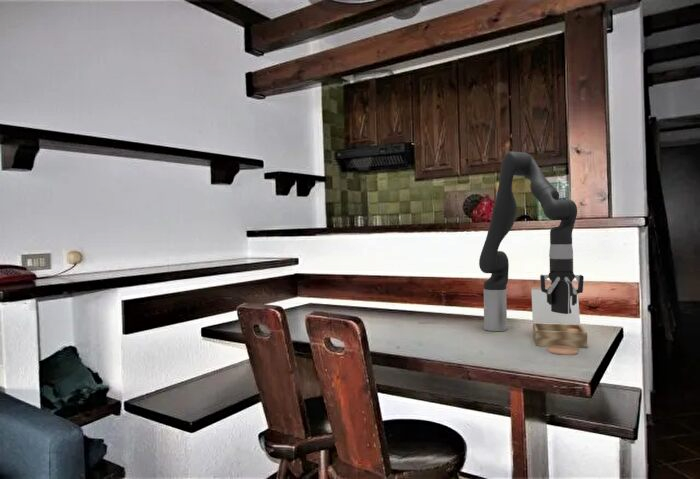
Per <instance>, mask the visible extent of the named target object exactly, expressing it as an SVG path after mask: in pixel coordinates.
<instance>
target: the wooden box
mask: <svg viewBox="0 0 700 479" xmlns="http://www.w3.org/2000/svg"><path fill="white" fill-rule="evenodd" d="M567 328H576V329H578V332H567ZM532 338H533V341H534V344H535V346H536V347H548V346H553V345H562V346H570V347H574V348H577V349H579V348H581V349H588V332H587V331H586V329H585V328H584V327H583V326H582V325H581V324H572V323H541V322H532Z"/></svg>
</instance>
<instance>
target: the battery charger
mask: <svg viewBox="0 0 700 479" xmlns="http://www.w3.org/2000/svg"><path fill="white" fill-rule="evenodd" d="M571 283H572V282H571ZM571 283H570V282H567V281H562V280H561V281H559V282H558V285H557V286H555V288H554V289H553V291H552V292H551V294H552V305H551V311H552V312H556V313H562V314H570V313H571V308H570V298H571V296H573V288H572V285H573V283H572V284H571ZM550 284H551V285H552V284H553V283H552V281H551V282H550Z"/></svg>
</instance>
